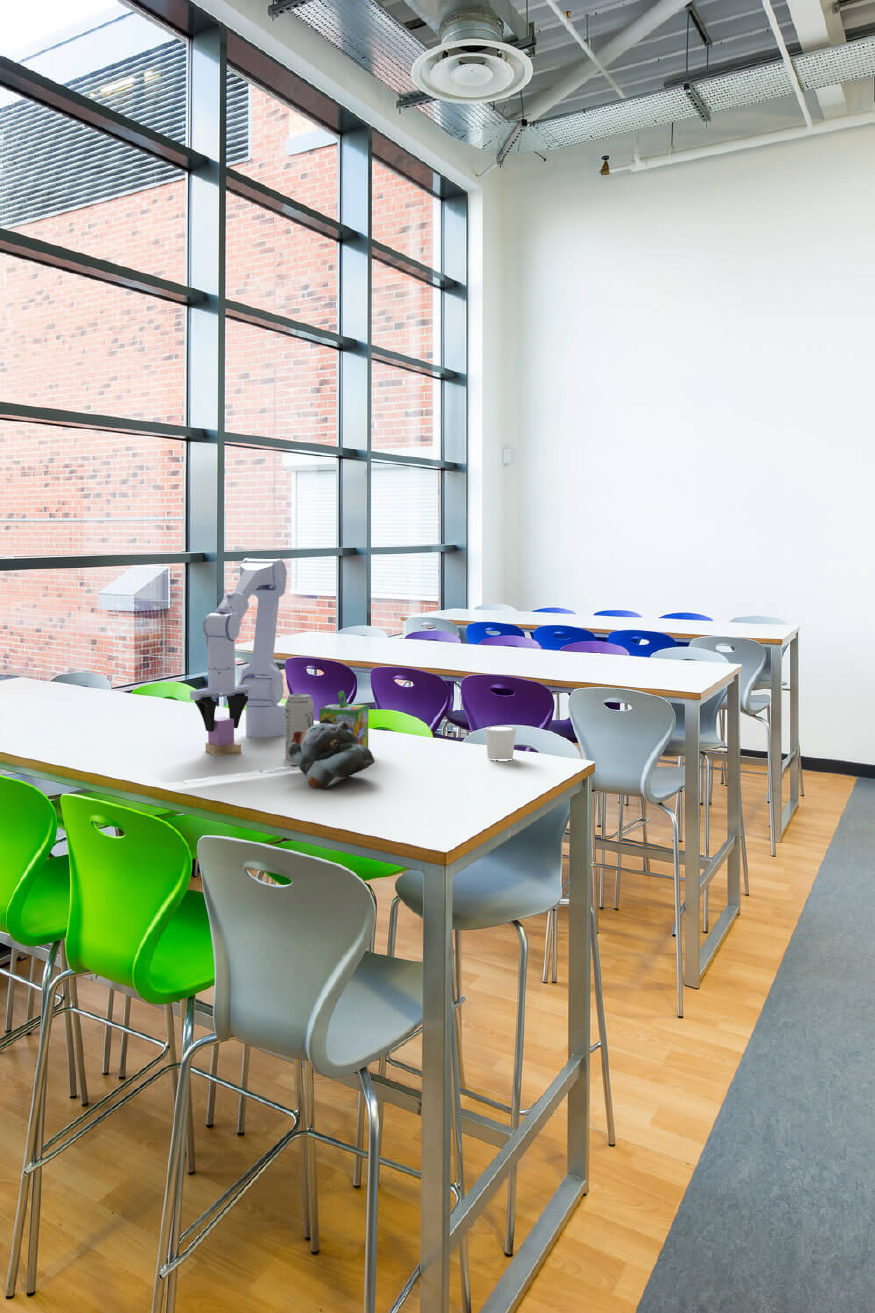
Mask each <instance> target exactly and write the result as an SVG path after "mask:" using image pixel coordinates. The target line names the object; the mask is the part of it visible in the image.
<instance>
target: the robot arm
mask: <svg viewBox="0 0 875 1313" xmlns="http://www.w3.org/2000/svg"><path fill="white" fill-rule="evenodd" d="M239 566H240V567H239V577H240V578H239V579H238V582H237V584H236V586H235V588H234V590H233V591H229V592H227V593H226V595H225V596H224V597H223V599H222V601H221V602H220V603H219V604H218V607H217V608H216V610H215V611H214V612H213V613H212V612H211V613H209V614H208V615H206V616H205V618H204V619H203V621H202V625H201V626H202V627H201V629H202V634H203V637H204V641H205V642H204V645H205V647H207V668H208V669H207V675H208V676H207V678H208V679H207V681H208V682H207V685H208V686H207V687H204V688H200V689H193V690H189V693H190V694H189V697H190V700H193V701H194V703H195V705H196V707H197V708H198V710H199V712H200V715H201V717H202V720H203V724H204V727H205V731H206V732H208V731H209V732H214V718H215V714H216V708H217V706H218V705H217V704H218V701H215V700H213V698H214V699H215V698H222V697H226V701H227V706H228V712H229V717H228V718H231V719H234V729H238V728H239V724H240V719H241V717H242V714H243V711H244V708H245V736H246V737H247V738H254V739H266V738H273V737H279V736H284V737H285V705H284V704H283V703H281V701H282V699H283V698H284V692H285V690H284V689H285V687H284V675H283V673H282V671H281V670H280V669H278V668H277V667H276V666H275V665H274V653H275V644H276V634H277V624H278V614H279V612H278V611H279V604H280V603H279V601H280V597H282V596H284V595H285V593H286V592H285V591H286V586H287V575H288V571H287V568H286V564H285V563H284V561H283V559H281V558H277V559H273V558H272V559H271V558H270V559H269V558H268V559H266V558H249V557H246V558H244V559H243V560H242V562H241V563H240V565H239ZM252 595H253V596H255V597H256V598H257V610H256V617H255V618H256V620H255V629H254V630H255V631H254V638H253V639H254V640H253V647H252V648H253V649H252V650H253V651H252V659H251V663H250V664H248V665H247V666H246V667H245V668H243V669H242V670H241V676H240V679H239V681H238V685H236V662H235V660H236V657H235V656H236V651H235V650H236V647H235V643H236V642H235V640H236V639H237V638H239V634H240V629H241V626H242V619H243V617H244V616H245V614H246V613H247V611H248V609H249V607H250V606H249V601H248V600H249V599H250V597H252Z"/></svg>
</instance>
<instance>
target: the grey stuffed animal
mask: <svg viewBox="0 0 875 1313" xmlns="http://www.w3.org/2000/svg"><path fill="white" fill-rule="evenodd" d="M287 751H288V754H289V755H290V757H291V759H292V760H293V761H292V762H294V765H297V766H298V767H297V768H298V769H299V770H300V771H301V773H302V774H303V775H304V776H305V778H306V779H307V784H308V786H310V787H311V788H312V789H317V790H318V789H319V790H327V789H328V788H330V787H331V786H333V785H334V784H335V785H336V784H337V783H338V782H340V781H344V780H345V779H347V778H348V777H350V776H353V775H354V774H358V773H359V772H362V771H363V770H366V769H368V768H369V767H370V766H372V765H373V764H374V763H375V759H374V756H373V753H372V751H371V749H370V748H369V747H368V748H367V747H365V746H363V745H360V744H358V741H357V738H356V737H355V735H354V734H353V733H352V732H351V731H350V730H349V727H348V724H347V723H346V722H341V723H339V724H338V725H335V724H333V723H332V722H331V721H330V720H328V719H323V720H322V721H321V723H320V722H319V723H314V725H313V726H312V727H310V728H308V729H307V730H306V731H305V732H300V731H297V732H294V733H293V739H292V742H291V743H290V744H289V746H288V747H287Z"/></svg>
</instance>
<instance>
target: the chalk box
mask: <svg viewBox="0 0 875 1313" xmlns="http://www.w3.org/2000/svg"><path fill="white" fill-rule="evenodd" d="M342 699H343V701H342ZM337 700H338V703H331V704H327V705H325V706H323V707H320V708H319V723H321V721H322V720H323V719H328V720H330V721H331V722H332V723H333V724H335V725H338V724H339V723H341V722H346V723H347V724H348V727H349V730H350V731H351V732H352V733H353V734H354V735H355V737H356V738H357V741H358V744H360V745H363V746H365V747H367V748H368V749H369V705H368V704H353V703H348V702H347V698H346V694H345V691H344V690H341V691H339V692H337Z"/></svg>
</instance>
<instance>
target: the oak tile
mask: <svg viewBox="0 0 875 1313" xmlns="http://www.w3.org/2000/svg"><path fill="white" fill-rule="evenodd" d="M205 752H207V753H209V754H211V755H213V756H214V757H218V756H226V755H236V754H242V745H241V743H239V742H236V741H235V740H234V744H228V745H222V746H217V745H213V744H209V743H208V742H205Z"/></svg>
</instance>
